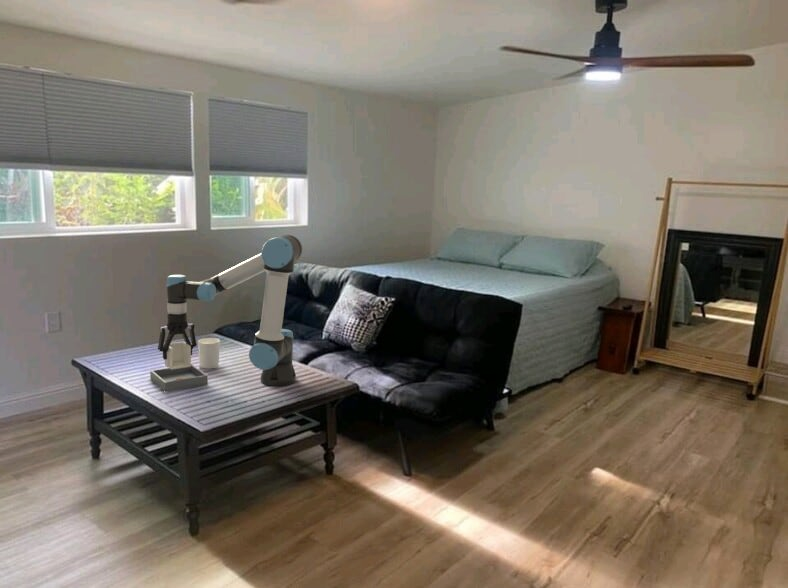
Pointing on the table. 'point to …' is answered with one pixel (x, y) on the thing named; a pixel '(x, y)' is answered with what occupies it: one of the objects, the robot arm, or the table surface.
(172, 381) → the tray
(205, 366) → the candle holder
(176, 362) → the cream open-top bin
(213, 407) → the table surface
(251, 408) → the table surface
